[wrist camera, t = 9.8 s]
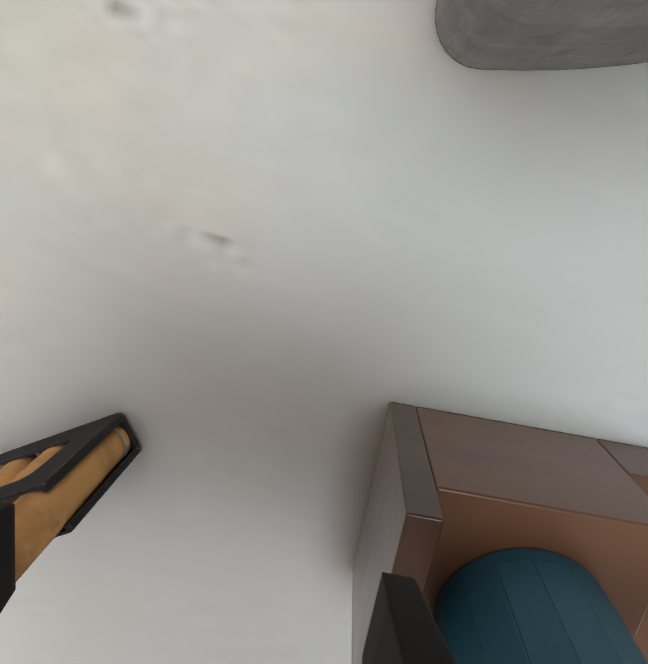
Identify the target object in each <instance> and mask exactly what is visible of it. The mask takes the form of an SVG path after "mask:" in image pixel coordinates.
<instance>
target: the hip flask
mask: <svg viewBox="0 0 648 664" xmlns="http://www.w3.org/2000/svg"><path fill="white" fill-rule="evenodd" d="M435 23H436V30H437V34H438V36H439V39H440V42H441V44H442V45H443V47H444V49H445V50H446V52H447V53H448V54H449V55H450V56H451V57H452V58H453V59H455V60H456V61H457V62H459V63H460V64H463V65H465V66H467V67H470V68H476V69H494V70H563V69H581V68H595V67H606V66H618V65H628V64H636V63H643V62H648V0H437V4H436V9H435Z"/></svg>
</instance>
